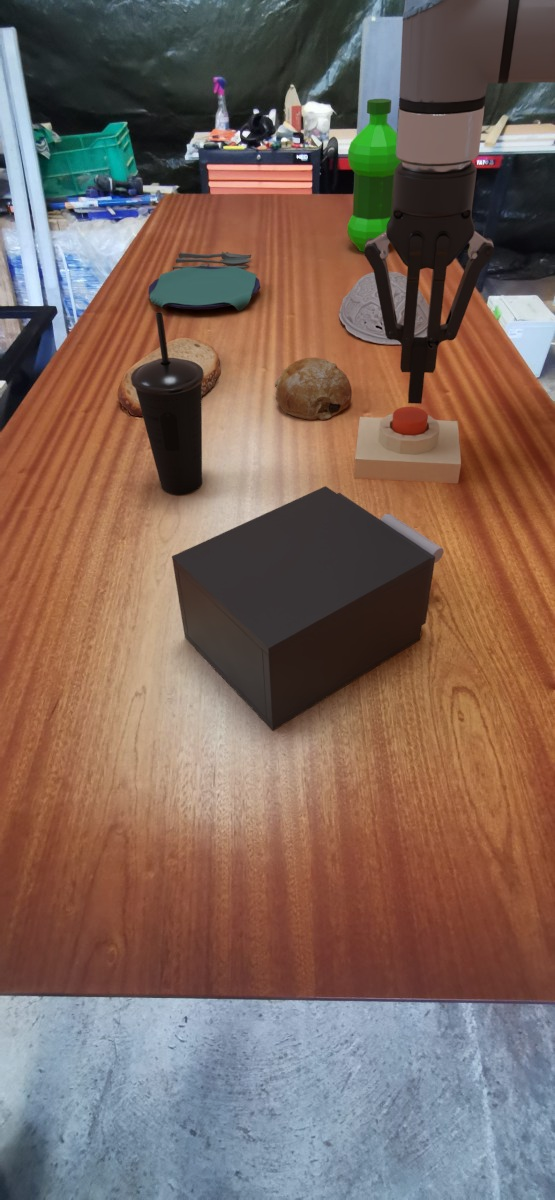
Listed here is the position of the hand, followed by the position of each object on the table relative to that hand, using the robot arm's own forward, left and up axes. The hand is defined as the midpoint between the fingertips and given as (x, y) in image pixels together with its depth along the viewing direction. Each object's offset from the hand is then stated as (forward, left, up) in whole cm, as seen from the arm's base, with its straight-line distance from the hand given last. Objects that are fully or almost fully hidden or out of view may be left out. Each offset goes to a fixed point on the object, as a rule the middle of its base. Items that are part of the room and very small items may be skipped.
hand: (414, 397), depth 84 cm
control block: (0, 0, -8) cm, 8 cm away
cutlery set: (+37, -57, -8) cm, 68 cm away
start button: (0, 0, -4) cm, 4 cm away
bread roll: (+13, -13, -8) cm, 20 cm away
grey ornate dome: (+4, -45, -8) cm, 46 cm away
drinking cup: (+26, +8, -8) cm, 29 cm away
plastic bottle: (+8, -80, -8) cm, 81 cm away
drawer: (+6, +29, -7) cm, 31 cm away
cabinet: (+9, +32, -8) cm, 34 cm away
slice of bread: (+34, -18, -8) cm, 40 cm away
